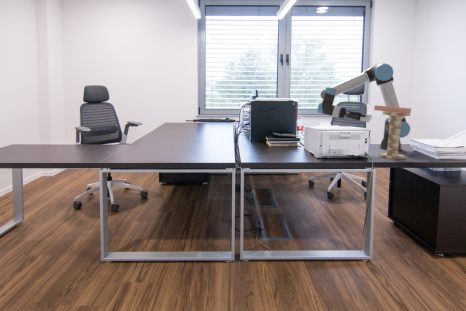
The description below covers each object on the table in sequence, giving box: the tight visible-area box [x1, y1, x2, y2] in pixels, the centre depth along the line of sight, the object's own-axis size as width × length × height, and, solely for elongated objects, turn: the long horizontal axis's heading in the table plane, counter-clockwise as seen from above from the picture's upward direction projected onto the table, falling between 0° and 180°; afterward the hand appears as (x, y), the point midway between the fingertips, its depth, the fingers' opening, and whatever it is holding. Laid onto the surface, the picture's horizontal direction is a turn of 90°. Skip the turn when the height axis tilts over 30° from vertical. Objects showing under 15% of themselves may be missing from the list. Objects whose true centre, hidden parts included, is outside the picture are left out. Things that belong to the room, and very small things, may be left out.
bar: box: [373, 105, 412, 114], centre depth 275 cm, size 24×4×3 cm, turn 36°
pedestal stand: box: [378, 111, 411, 161], centre depth 275 cm, size 12×12×30 cm
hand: (370, 119), depth 292 cm, fingers open, 13 cm apart
